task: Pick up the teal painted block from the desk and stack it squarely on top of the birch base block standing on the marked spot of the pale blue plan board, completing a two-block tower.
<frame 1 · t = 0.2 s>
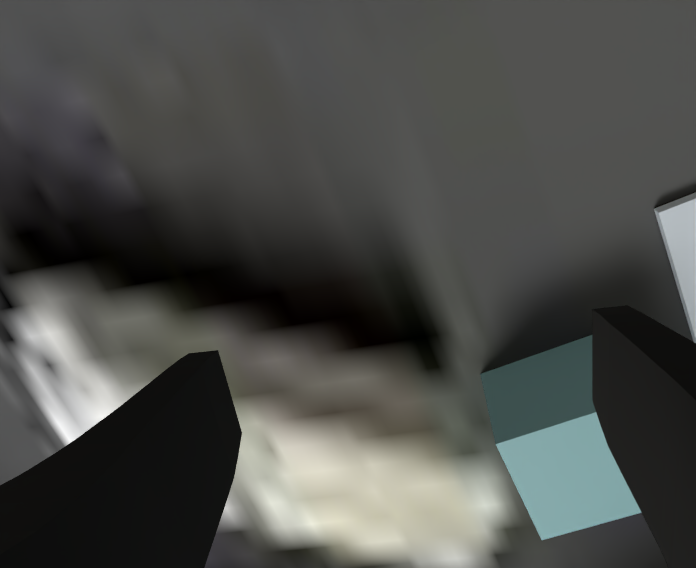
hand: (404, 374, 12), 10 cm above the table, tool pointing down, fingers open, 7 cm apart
teal block: (558, 398, 24), on the table
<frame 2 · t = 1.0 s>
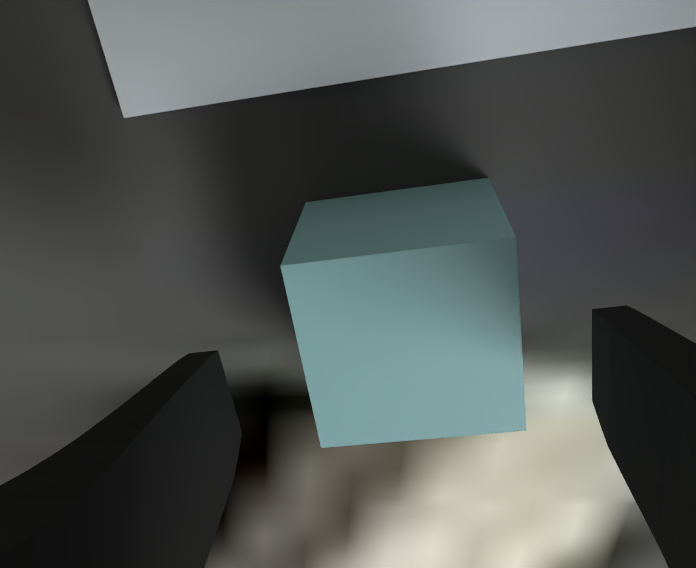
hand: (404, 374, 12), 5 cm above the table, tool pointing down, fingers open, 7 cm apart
teal block: (406, 271, 17), on the table
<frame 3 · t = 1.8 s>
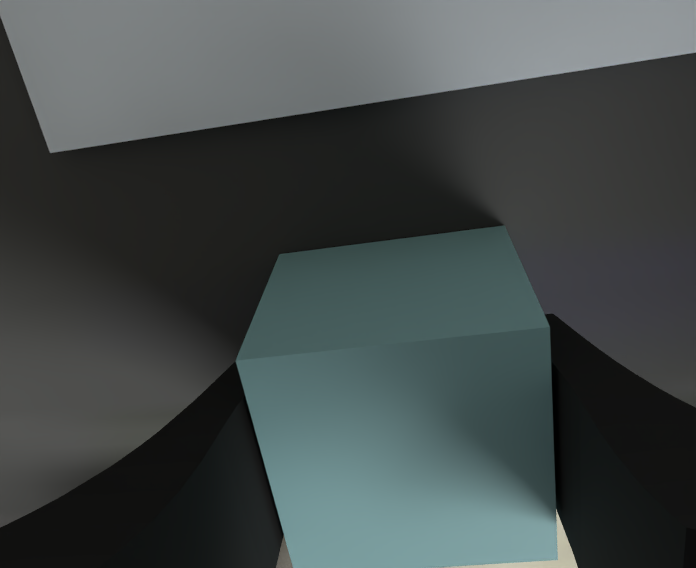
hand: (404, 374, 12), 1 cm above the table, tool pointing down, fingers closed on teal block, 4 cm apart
teal block: (403, 337, 14), on the table, touching gripper
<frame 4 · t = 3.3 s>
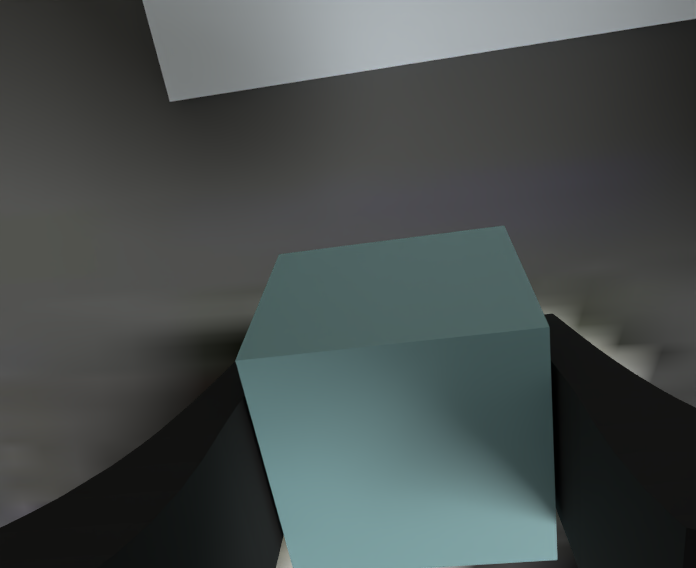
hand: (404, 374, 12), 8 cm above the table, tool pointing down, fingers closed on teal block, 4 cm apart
teal block: (403, 337, 14), point 7 cm above the table, touching gripper
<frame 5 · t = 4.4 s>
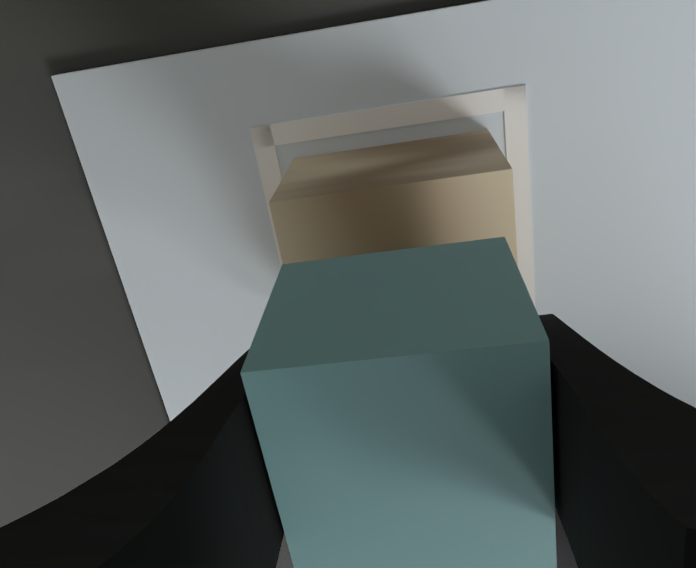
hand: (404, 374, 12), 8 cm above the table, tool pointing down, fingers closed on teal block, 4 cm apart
base block: (401, 235, 19), resting on plan board
teal block: (404, 346, 14), point 6 cm above the table, touching gripper
plan board: (409, 288, 20), on the table
when the fingers open (7 cm above the table, at t = 5.0 s): teal block drops 1 cm, resting on base block.
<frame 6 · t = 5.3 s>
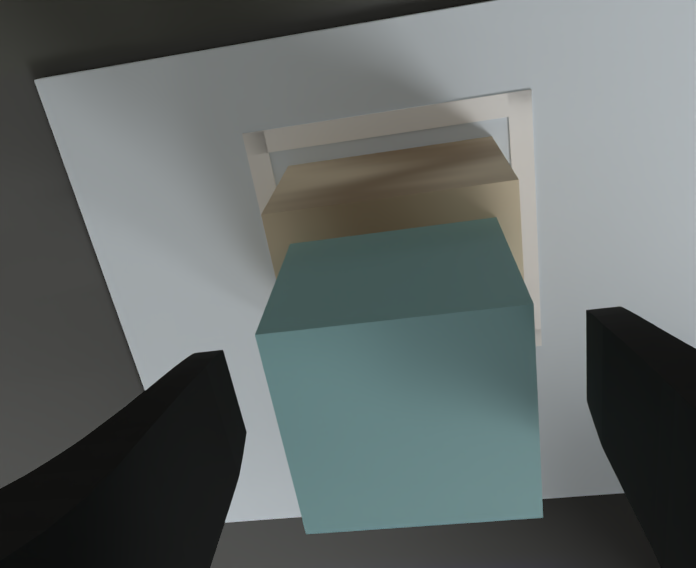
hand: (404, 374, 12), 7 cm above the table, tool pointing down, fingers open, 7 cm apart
base block: (400, 245, 18), resting on plan board, touching teal block
teal block: (403, 321, 15), point 4 cm above the table, touching base block
plan board: (409, 300, 19), on the table
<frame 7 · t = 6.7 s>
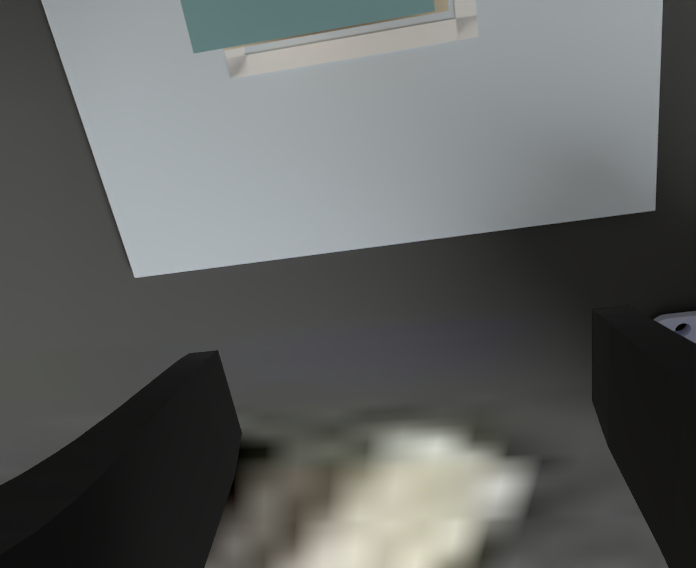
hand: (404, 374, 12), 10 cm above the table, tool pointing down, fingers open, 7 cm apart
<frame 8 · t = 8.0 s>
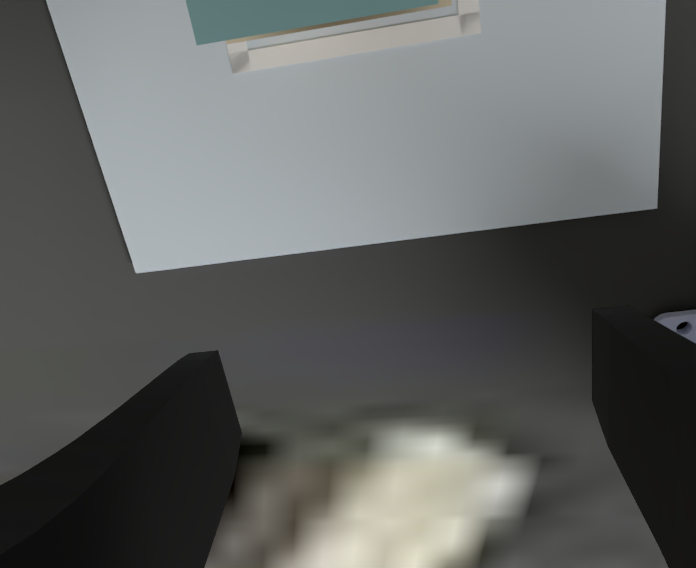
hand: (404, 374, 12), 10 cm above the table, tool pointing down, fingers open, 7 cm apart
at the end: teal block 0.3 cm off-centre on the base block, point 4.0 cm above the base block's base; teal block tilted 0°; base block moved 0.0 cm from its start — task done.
